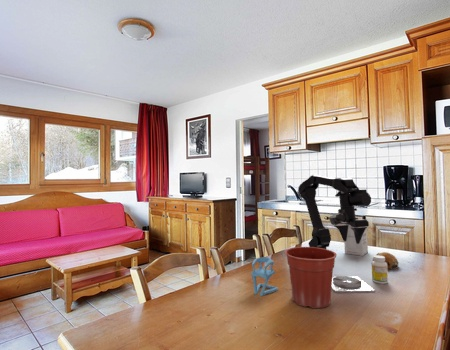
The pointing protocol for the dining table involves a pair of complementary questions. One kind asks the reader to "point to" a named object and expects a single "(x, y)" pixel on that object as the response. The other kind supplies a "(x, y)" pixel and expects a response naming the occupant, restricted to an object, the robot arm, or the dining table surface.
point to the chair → (263, 276)
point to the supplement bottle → (379, 270)
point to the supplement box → (351, 243)
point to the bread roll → (389, 260)
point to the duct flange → (350, 284)
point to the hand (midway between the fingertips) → (351, 242)
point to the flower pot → (311, 275)
